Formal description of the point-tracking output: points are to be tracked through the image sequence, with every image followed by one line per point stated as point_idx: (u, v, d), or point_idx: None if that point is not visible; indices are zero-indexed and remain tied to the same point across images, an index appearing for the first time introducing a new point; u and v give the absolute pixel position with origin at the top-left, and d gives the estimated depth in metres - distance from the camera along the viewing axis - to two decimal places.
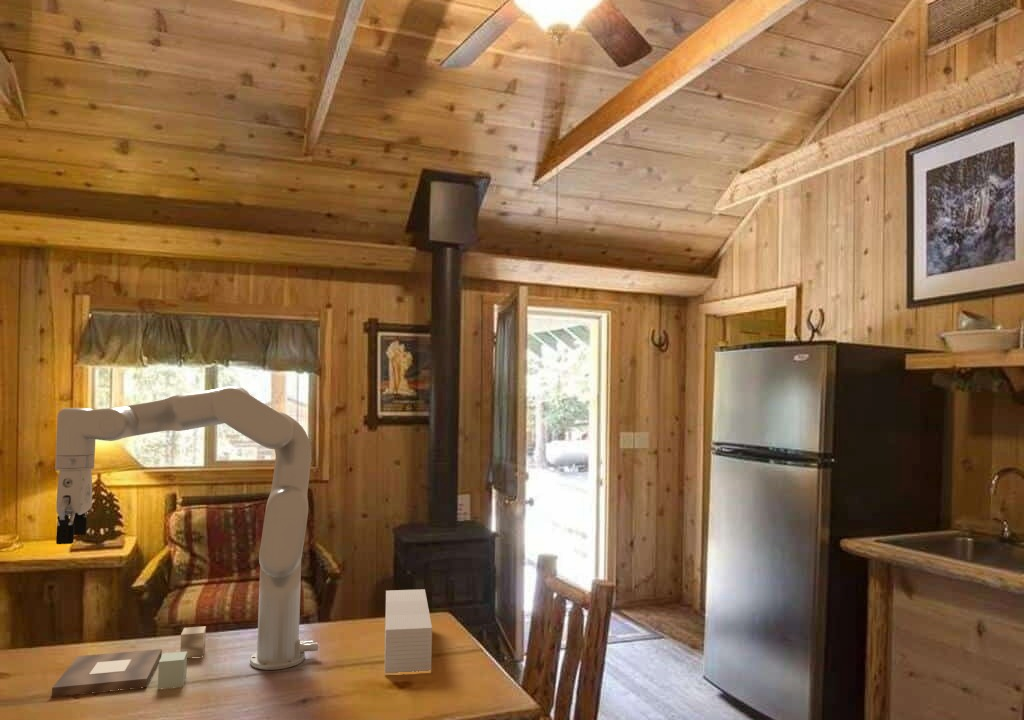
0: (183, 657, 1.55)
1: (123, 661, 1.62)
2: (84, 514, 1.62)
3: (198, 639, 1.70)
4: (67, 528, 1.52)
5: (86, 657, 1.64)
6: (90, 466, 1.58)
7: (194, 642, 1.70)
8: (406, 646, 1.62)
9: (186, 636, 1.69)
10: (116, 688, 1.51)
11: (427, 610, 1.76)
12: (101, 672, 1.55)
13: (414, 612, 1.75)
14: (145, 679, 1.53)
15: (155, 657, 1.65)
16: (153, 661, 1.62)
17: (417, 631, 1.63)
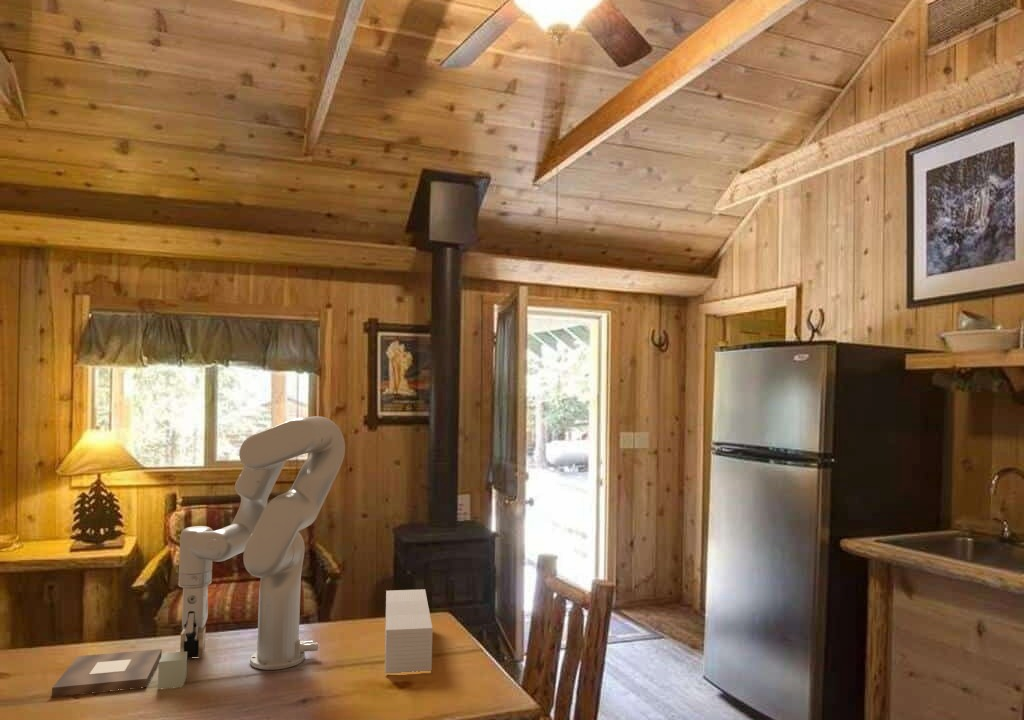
0: (183, 657, 1.55)
1: (123, 661, 1.62)
2: None
3: None
4: (193, 643, 1.69)
5: (86, 657, 1.64)
6: (209, 581, 1.72)
7: None
8: (406, 646, 1.62)
9: None
10: (116, 688, 1.51)
11: (427, 610, 1.76)
12: (101, 672, 1.55)
13: (414, 612, 1.75)
14: (145, 679, 1.53)
15: (155, 657, 1.65)
16: (153, 661, 1.62)
17: (417, 631, 1.63)
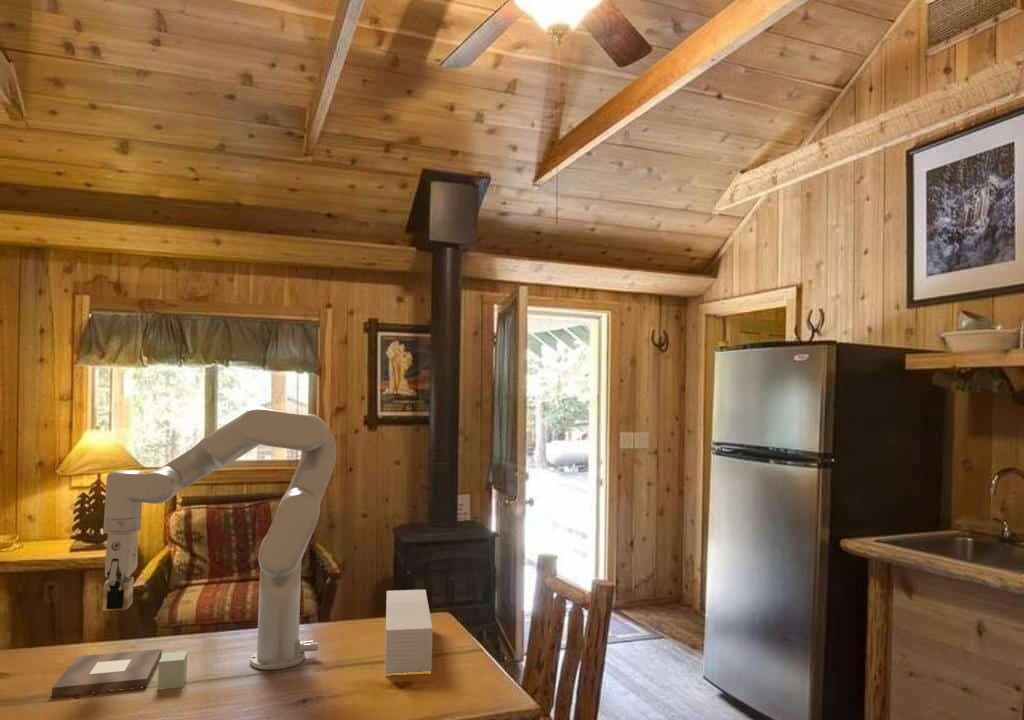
0: (183, 657, 1.55)
1: (123, 661, 1.62)
2: None
3: (123, 589, 1.58)
4: (117, 593, 1.57)
5: (86, 657, 1.64)
6: (137, 528, 1.61)
7: None
8: (406, 646, 1.62)
9: None
10: (116, 688, 1.51)
11: (428, 610, 1.76)
12: (101, 672, 1.55)
13: (414, 612, 1.75)
14: (145, 679, 1.53)
15: (155, 657, 1.65)
16: (153, 661, 1.62)
17: (417, 631, 1.63)
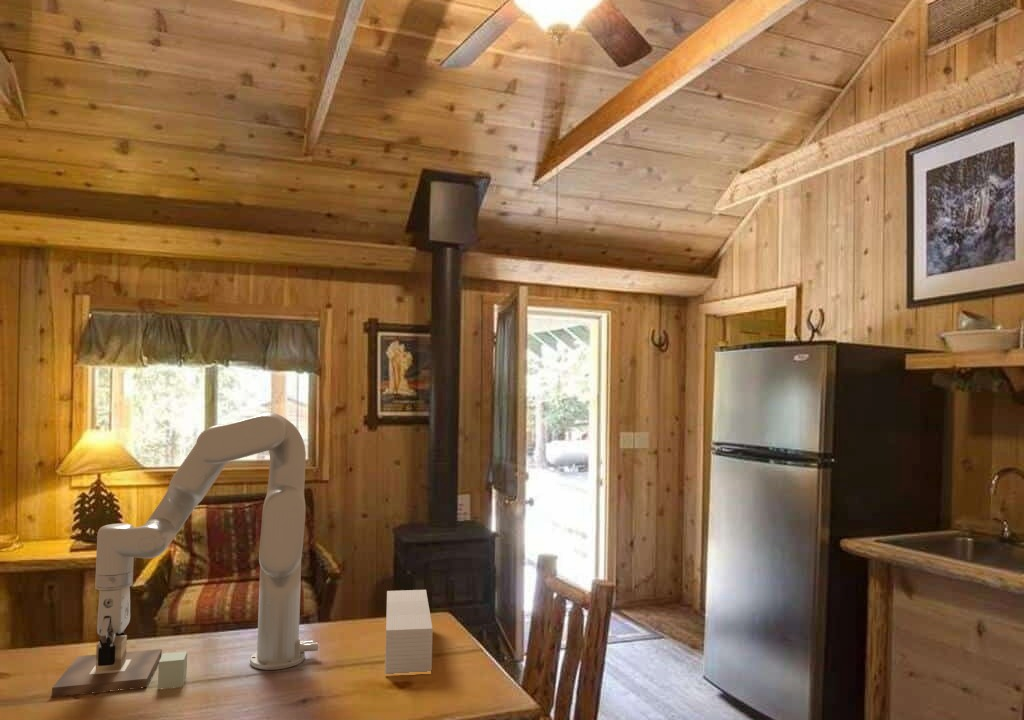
0: (183, 657, 1.55)
1: None
2: None
3: (116, 649, 1.57)
4: (109, 650, 1.54)
5: (86, 657, 1.64)
6: (129, 583, 1.59)
7: None
8: (406, 647, 1.62)
9: None
10: (116, 688, 1.51)
11: (428, 610, 1.76)
12: (101, 672, 1.55)
13: (414, 612, 1.74)
14: (145, 679, 1.53)
15: (155, 657, 1.65)
16: (153, 661, 1.62)
17: (417, 632, 1.63)
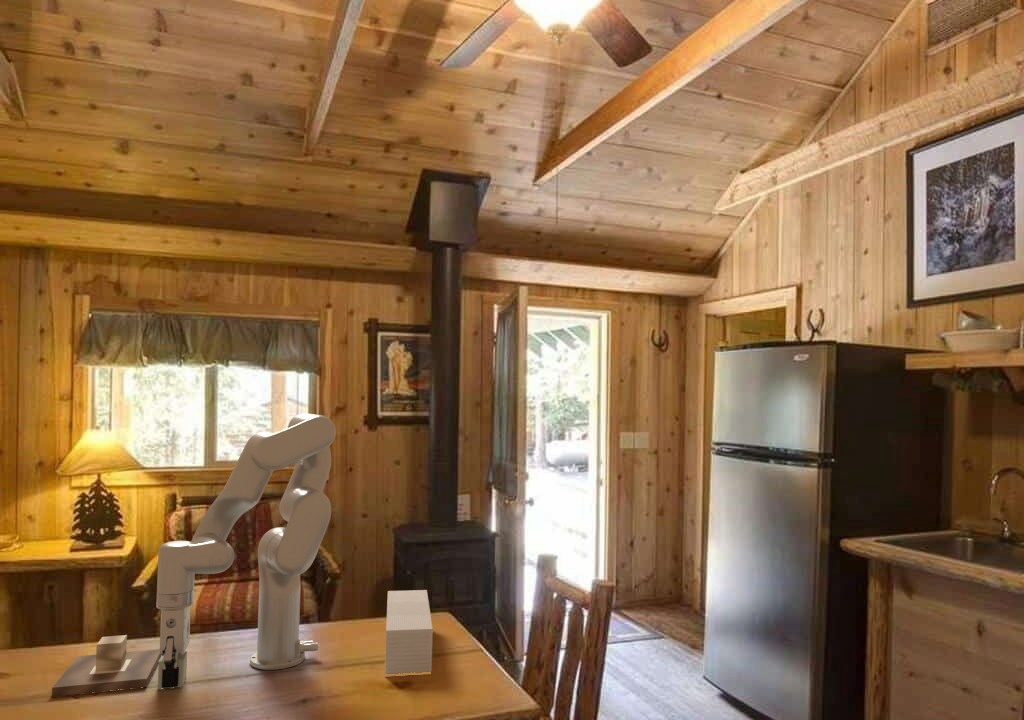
0: (183, 657, 1.55)
1: None
2: None
3: (116, 649, 1.57)
4: (172, 672, 1.52)
5: (86, 657, 1.64)
6: (191, 602, 1.56)
7: (112, 653, 1.57)
8: (406, 647, 1.62)
9: (102, 646, 1.56)
10: (116, 688, 1.51)
11: (428, 611, 1.76)
12: (101, 672, 1.55)
13: (415, 613, 1.74)
14: (145, 679, 1.53)
15: (155, 657, 1.65)
16: (153, 661, 1.62)
17: (417, 632, 1.62)
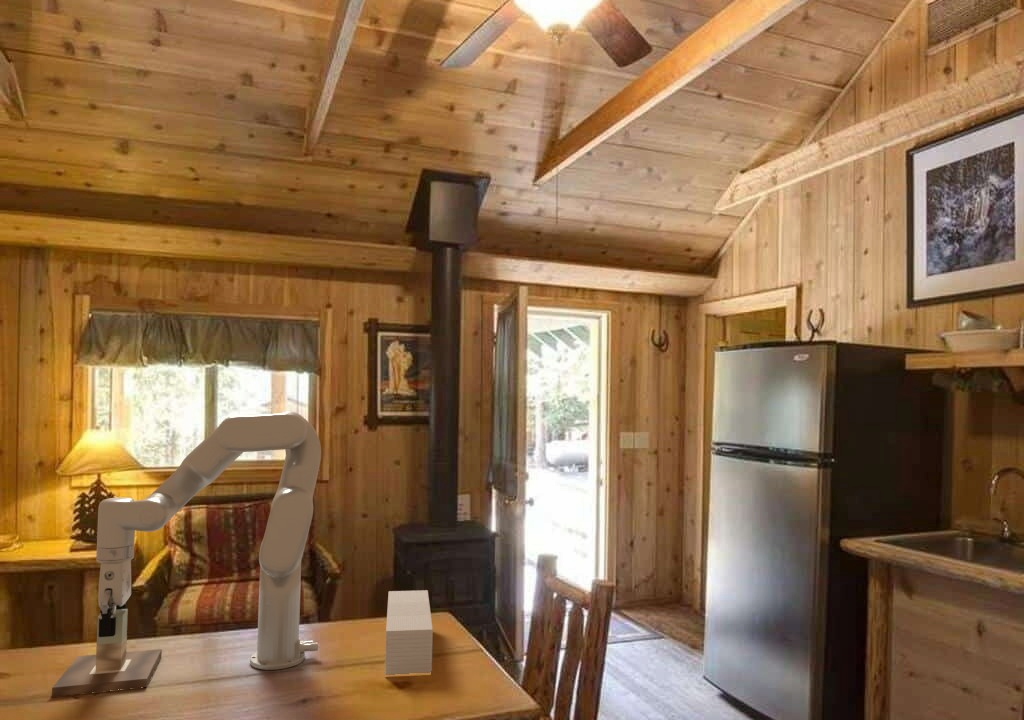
0: (122, 613, 1.59)
1: None
2: None
3: (116, 649, 1.57)
4: (109, 621, 1.54)
5: (86, 657, 1.64)
6: (130, 556, 1.59)
7: (112, 653, 1.57)
8: (406, 648, 1.61)
9: (102, 646, 1.56)
10: (116, 688, 1.51)
11: (429, 611, 1.75)
12: (101, 672, 1.55)
13: (415, 613, 1.74)
14: (145, 679, 1.53)
15: (155, 657, 1.65)
16: (153, 661, 1.62)
17: (417, 633, 1.62)
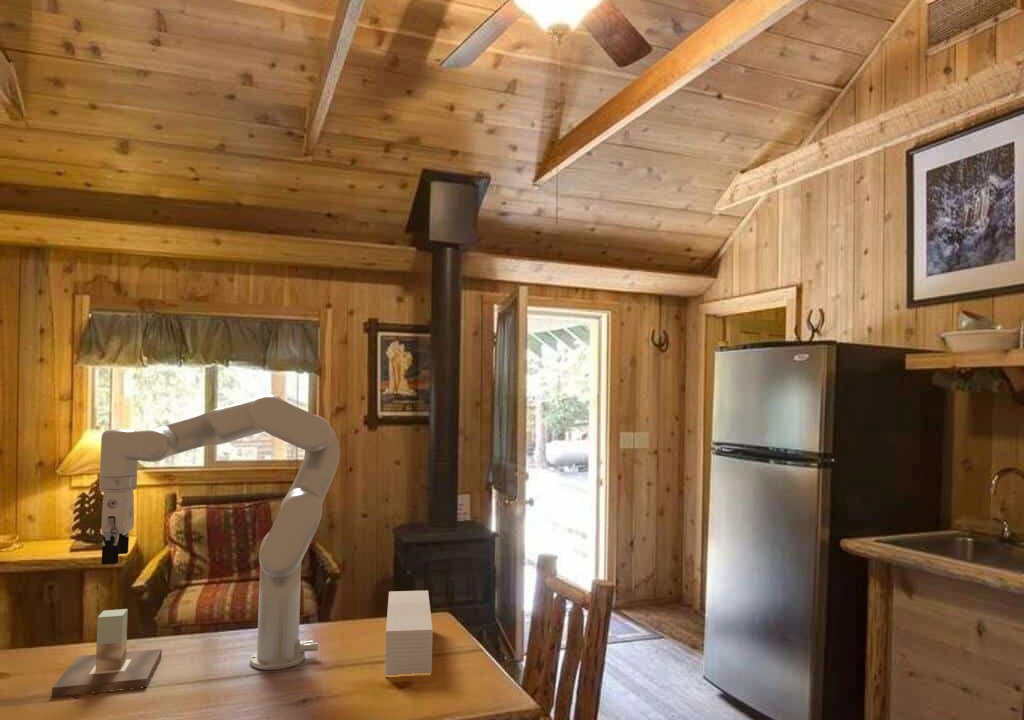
0: (122, 613, 1.59)
1: None
2: (126, 533, 1.65)
3: (116, 649, 1.57)
4: (112, 548, 1.55)
5: (86, 657, 1.64)
6: (133, 487, 1.60)
7: (112, 653, 1.57)
8: (406, 648, 1.61)
9: (102, 646, 1.56)
10: (116, 688, 1.51)
11: (429, 611, 1.75)
12: (101, 672, 1.55)
13: (415, 613, 1.74)
14: (145, 679, 1.53)
15: (155, 657, 1.65)
16: (153, 661, 1.62)
17: (417, 633, 1.62)
